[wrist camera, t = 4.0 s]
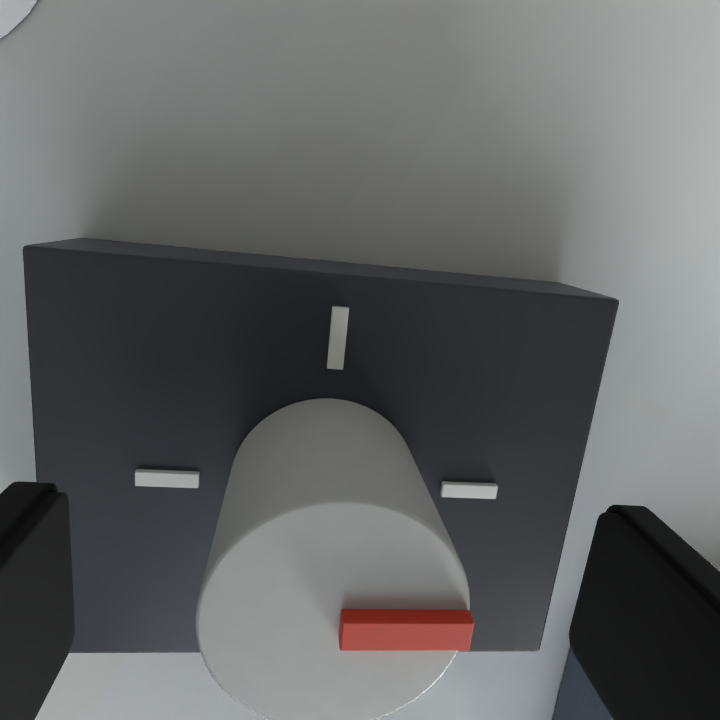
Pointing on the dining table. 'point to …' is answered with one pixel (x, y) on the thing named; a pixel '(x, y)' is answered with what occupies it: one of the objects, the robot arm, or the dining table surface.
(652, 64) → the dining table surface
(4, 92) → the dining table surface
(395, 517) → the dial
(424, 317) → the control panel
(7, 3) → the champagne flute
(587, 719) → the button housing
